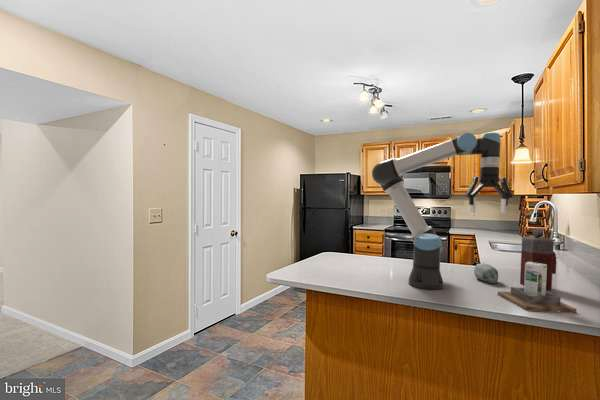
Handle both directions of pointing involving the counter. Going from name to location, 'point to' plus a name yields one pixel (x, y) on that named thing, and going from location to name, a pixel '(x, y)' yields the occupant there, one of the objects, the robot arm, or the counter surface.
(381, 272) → the counter surface
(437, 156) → the robot arm
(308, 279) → the counter surface
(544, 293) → the syrup box
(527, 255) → the toy vending machine
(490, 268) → the grey green rock
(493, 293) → the counter surface
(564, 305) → the board
